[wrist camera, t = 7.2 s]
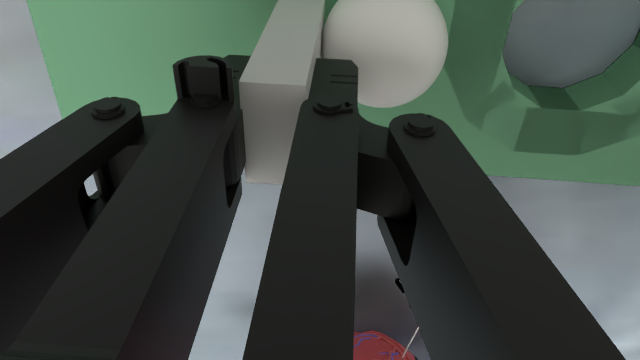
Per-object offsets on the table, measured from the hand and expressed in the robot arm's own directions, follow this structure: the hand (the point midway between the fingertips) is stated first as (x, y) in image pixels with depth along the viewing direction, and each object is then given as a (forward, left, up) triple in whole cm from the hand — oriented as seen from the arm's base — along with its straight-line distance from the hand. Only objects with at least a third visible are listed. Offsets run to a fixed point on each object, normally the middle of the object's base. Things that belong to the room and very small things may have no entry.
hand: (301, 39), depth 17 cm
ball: (-3, 0, +1) cm, 3 cm away
